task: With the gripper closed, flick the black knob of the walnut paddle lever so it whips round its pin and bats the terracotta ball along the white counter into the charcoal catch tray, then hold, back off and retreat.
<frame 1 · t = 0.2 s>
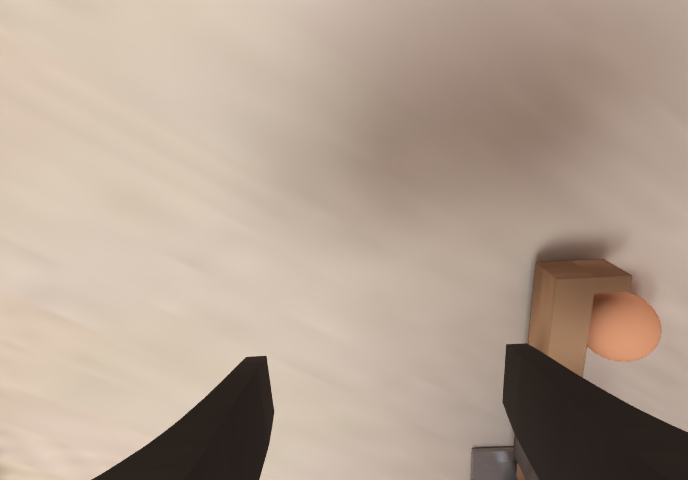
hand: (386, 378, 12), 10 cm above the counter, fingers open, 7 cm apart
lever: (575, 408, 20), point 3 cm above the counter, hinge at 0.0°
ball: (617, 325, 20), point 2 cm above the counter
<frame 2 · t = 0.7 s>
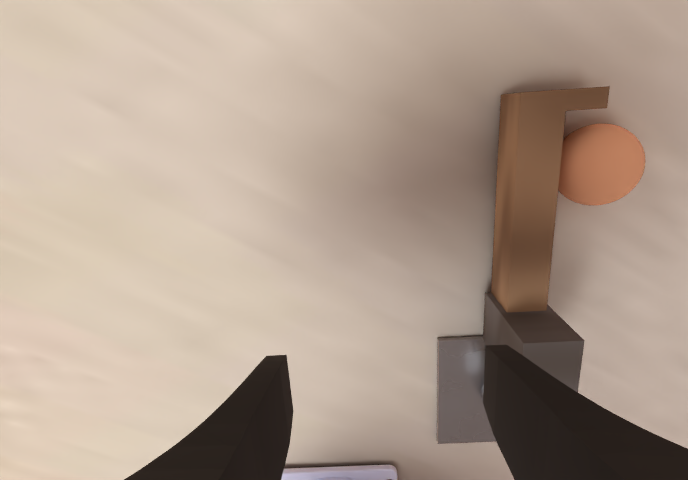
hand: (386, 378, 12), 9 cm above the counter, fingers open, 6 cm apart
lever: (547, 261, 18), point 3 cm above the counter, hinge at 0.0°
pivot base: (498, 388, 23), on the counter
ball: (595, 165, 18), point 2 cm above the counter
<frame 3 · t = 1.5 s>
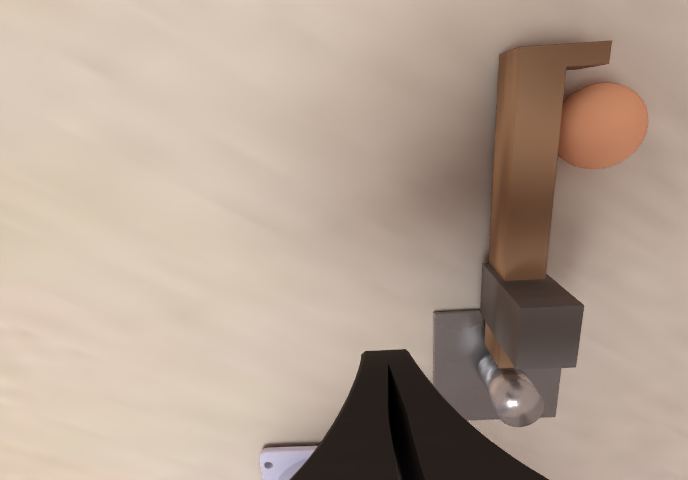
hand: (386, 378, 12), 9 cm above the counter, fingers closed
lever: (546, 226, 17), point 3 cm above the counter, hinge at 0.0°
pivot base: (495, 364, 23), on the counter
ball: (596, 127, 17), point 2 cm above the counter
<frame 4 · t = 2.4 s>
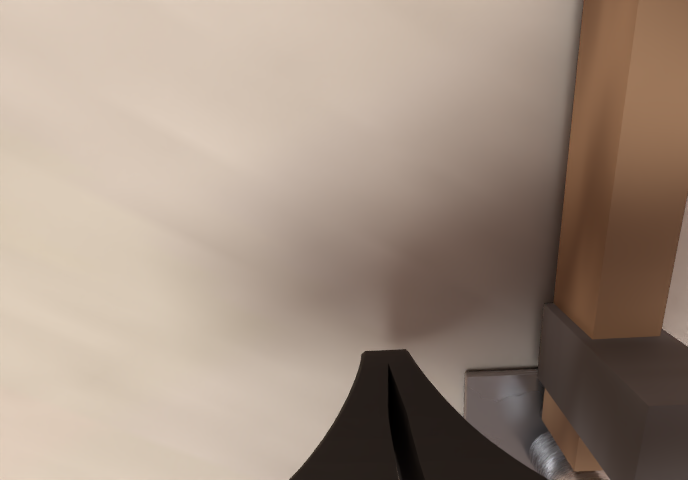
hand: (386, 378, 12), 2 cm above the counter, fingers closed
lever: (672, 251, 10), point 3 cm above the counter, hinge at 0.0°
pivot base: (554, 445, 16), on the counter
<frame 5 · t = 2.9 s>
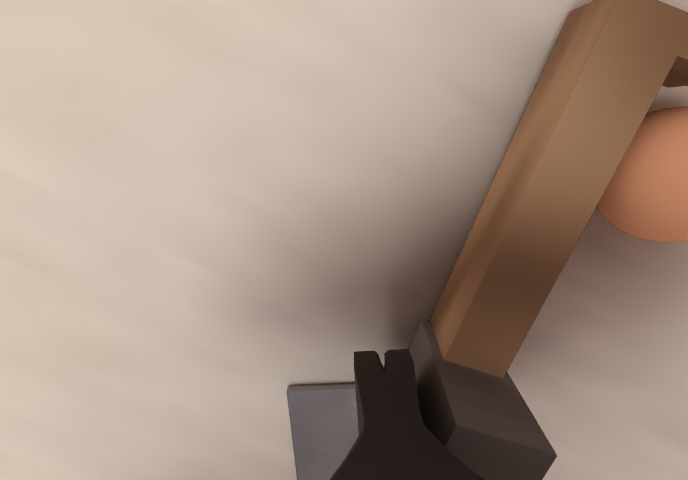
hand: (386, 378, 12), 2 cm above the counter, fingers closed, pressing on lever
lever: (538, 302, 10), point 3 cm above the counter, hinge at 22.3°, touching gripper
pivot base: (385, 458, 16), on the counter
ball: (668, 176, 11), point 2 cm above the counter, tilted 116°
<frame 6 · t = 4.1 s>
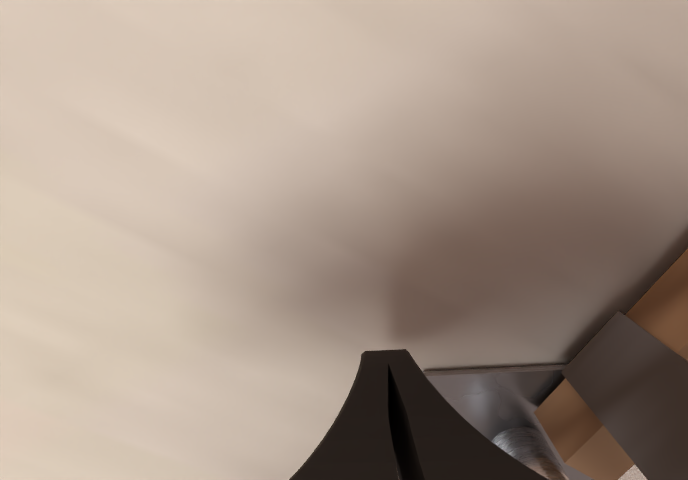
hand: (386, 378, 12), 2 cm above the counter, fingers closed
pivot base: (514, 443, 16), on the counter
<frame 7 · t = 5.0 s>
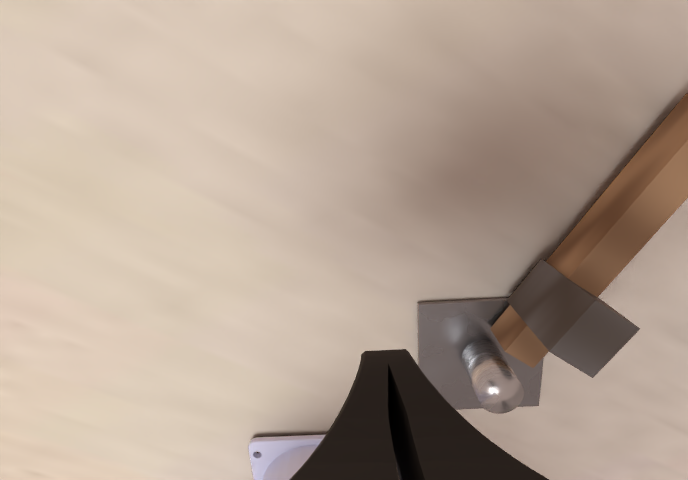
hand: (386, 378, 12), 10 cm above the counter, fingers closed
lever: (634, 253, 18), point 3 cm above the counter, hinge at 35.7°
pivot base: (479, 354, 23), on the counter
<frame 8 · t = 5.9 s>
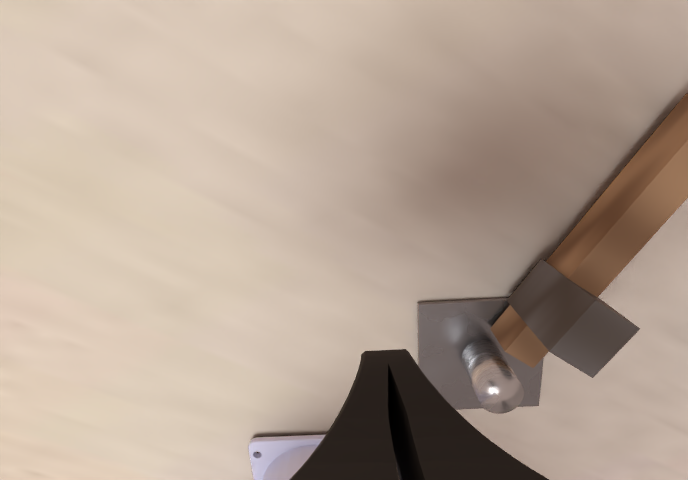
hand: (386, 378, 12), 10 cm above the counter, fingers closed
lever: (634, 253, 18), point 3 cm above the counter, hinge at 35.7°
pivot base: (479, 354, 23), on the counter
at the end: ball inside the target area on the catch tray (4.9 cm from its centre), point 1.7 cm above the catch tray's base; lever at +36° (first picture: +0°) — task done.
